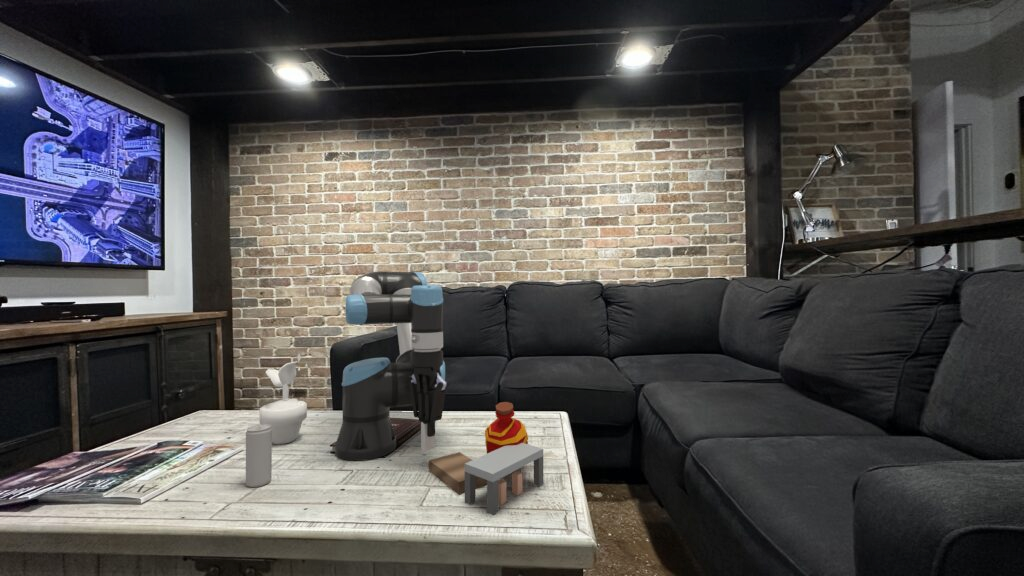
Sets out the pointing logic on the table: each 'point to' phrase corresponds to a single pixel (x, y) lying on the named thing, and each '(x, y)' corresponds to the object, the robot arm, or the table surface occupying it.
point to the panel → (453, 471)
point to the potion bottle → (504, 429)
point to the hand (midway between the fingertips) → (427, 448)
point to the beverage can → (258, 455)
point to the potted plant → (284, 406)
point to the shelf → (502, 472)
